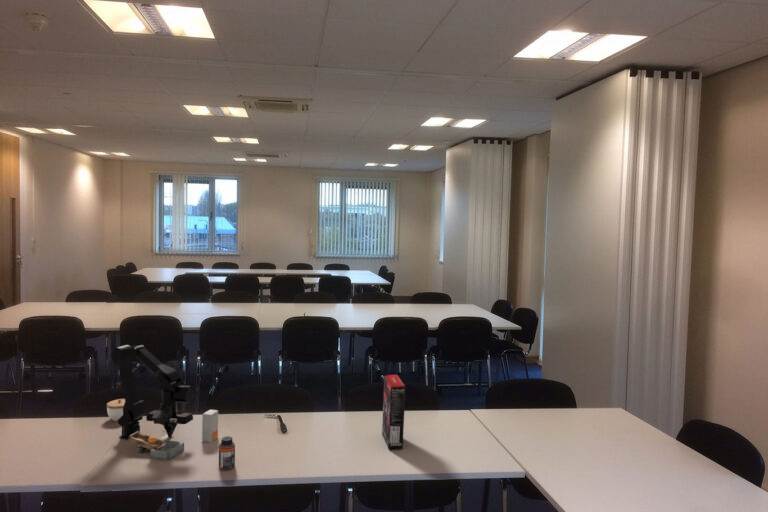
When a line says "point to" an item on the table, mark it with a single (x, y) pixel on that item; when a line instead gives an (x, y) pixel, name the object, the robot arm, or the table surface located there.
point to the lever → (143, 440)
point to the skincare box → (210, 425)
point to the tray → (168, 450)
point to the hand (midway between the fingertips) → (170, 437)
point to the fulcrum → (142, 449)
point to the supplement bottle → (226, 453)
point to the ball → (152, 440)
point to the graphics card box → (393, 411)
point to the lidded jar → (115, 409)
